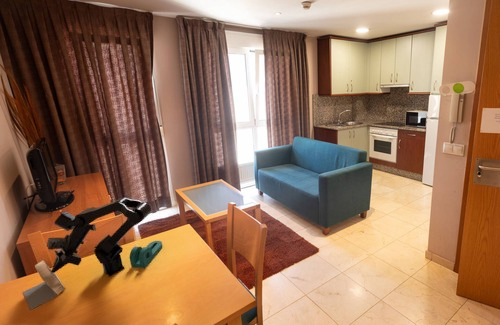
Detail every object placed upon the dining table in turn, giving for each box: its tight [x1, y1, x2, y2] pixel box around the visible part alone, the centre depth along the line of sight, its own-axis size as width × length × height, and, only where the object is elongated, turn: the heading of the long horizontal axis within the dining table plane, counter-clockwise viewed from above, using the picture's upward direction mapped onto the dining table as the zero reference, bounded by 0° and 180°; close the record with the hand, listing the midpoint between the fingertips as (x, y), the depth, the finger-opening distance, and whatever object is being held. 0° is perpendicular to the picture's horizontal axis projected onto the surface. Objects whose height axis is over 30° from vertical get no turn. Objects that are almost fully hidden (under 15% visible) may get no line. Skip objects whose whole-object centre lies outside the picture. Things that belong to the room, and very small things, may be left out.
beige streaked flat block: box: [34, 260, 66, 296], centre depth 103 cm, size 3×12×10 cm, turn 48°
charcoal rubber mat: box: [22, 281, 58, 311], centre depth 101 cm, size 8×14×1 cm, turn 49°
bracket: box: [129, 240, 163, 269], centre depth 121 cm, size 18×7×8 cm, turn 170°
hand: (52, 272), depth 104 cm, fingers closed
